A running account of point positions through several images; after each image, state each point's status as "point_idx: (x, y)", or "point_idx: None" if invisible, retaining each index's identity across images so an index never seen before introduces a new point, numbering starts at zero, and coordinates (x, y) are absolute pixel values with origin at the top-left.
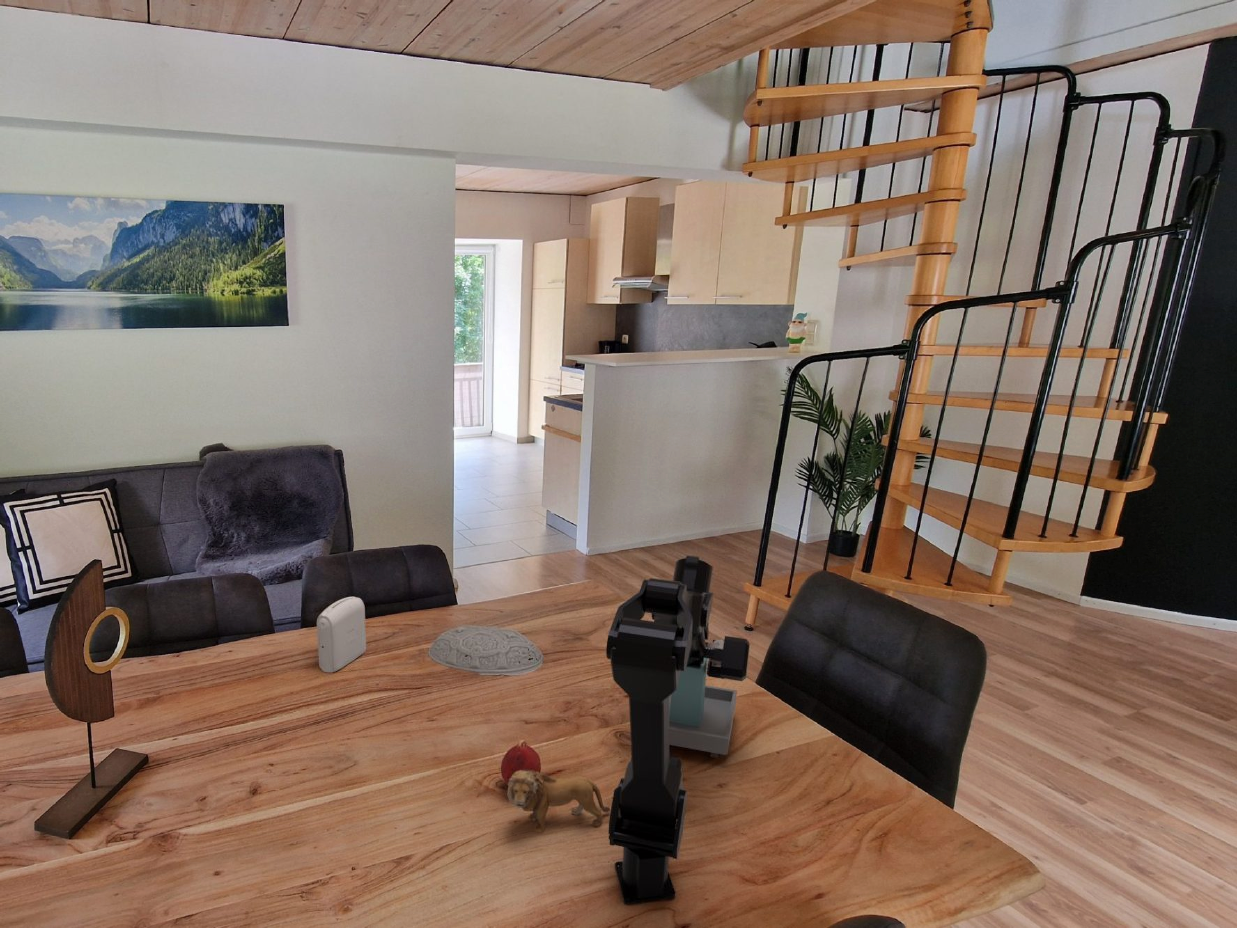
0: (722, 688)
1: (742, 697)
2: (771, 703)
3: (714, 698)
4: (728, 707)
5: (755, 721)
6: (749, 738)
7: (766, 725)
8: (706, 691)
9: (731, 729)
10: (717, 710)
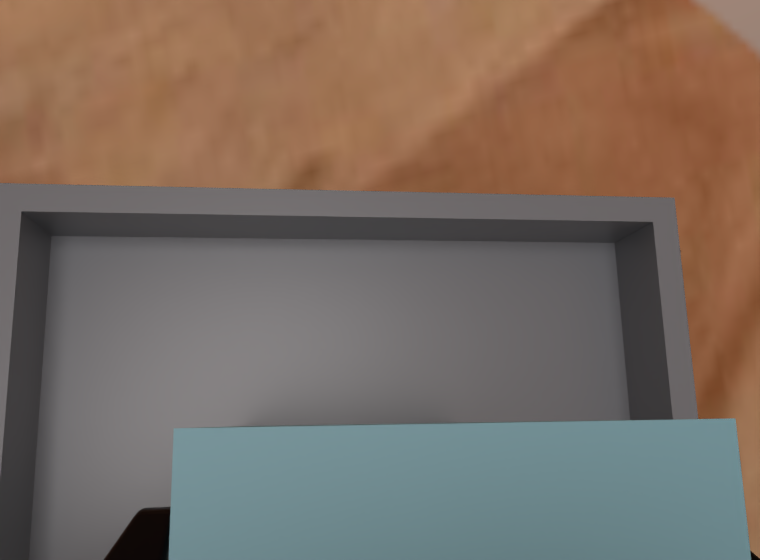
0: (573, 201)
1: (592, 43)
2: (742, 63)
3: (499, 239)
4: (603, 319)
5: (696, 263)
6: None
7: (756, 284)
8: (453, 229)
9: None
10: (542, 381)
